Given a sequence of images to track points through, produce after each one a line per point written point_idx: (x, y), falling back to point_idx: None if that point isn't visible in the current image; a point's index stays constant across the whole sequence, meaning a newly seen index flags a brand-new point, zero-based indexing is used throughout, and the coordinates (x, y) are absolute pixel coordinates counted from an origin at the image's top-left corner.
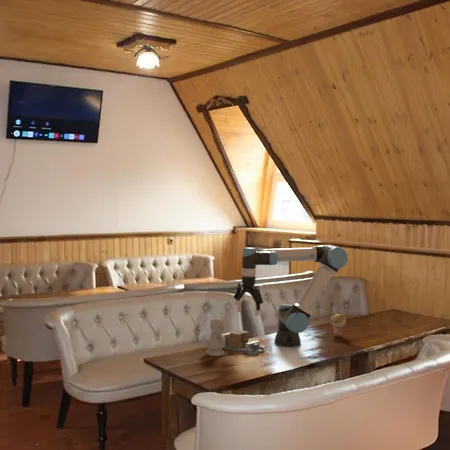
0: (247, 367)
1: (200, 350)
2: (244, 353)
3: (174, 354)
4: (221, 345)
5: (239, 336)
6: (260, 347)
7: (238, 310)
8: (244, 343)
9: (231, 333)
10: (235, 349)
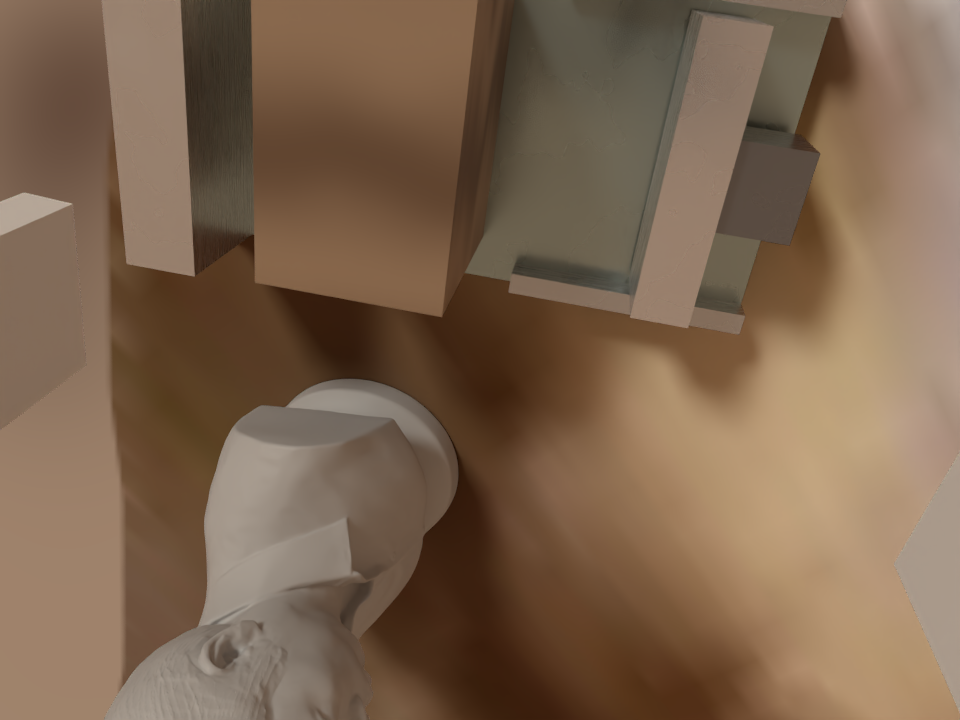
0: (898, 665)
1: (184, 454)
2: None
3: (145, 655)
4: (409, 524)
5: (453, 265)
6: (773, 6)
7: (45, 360)
8: (494, 97)
9: (292, 283)
10: (476, 274)
